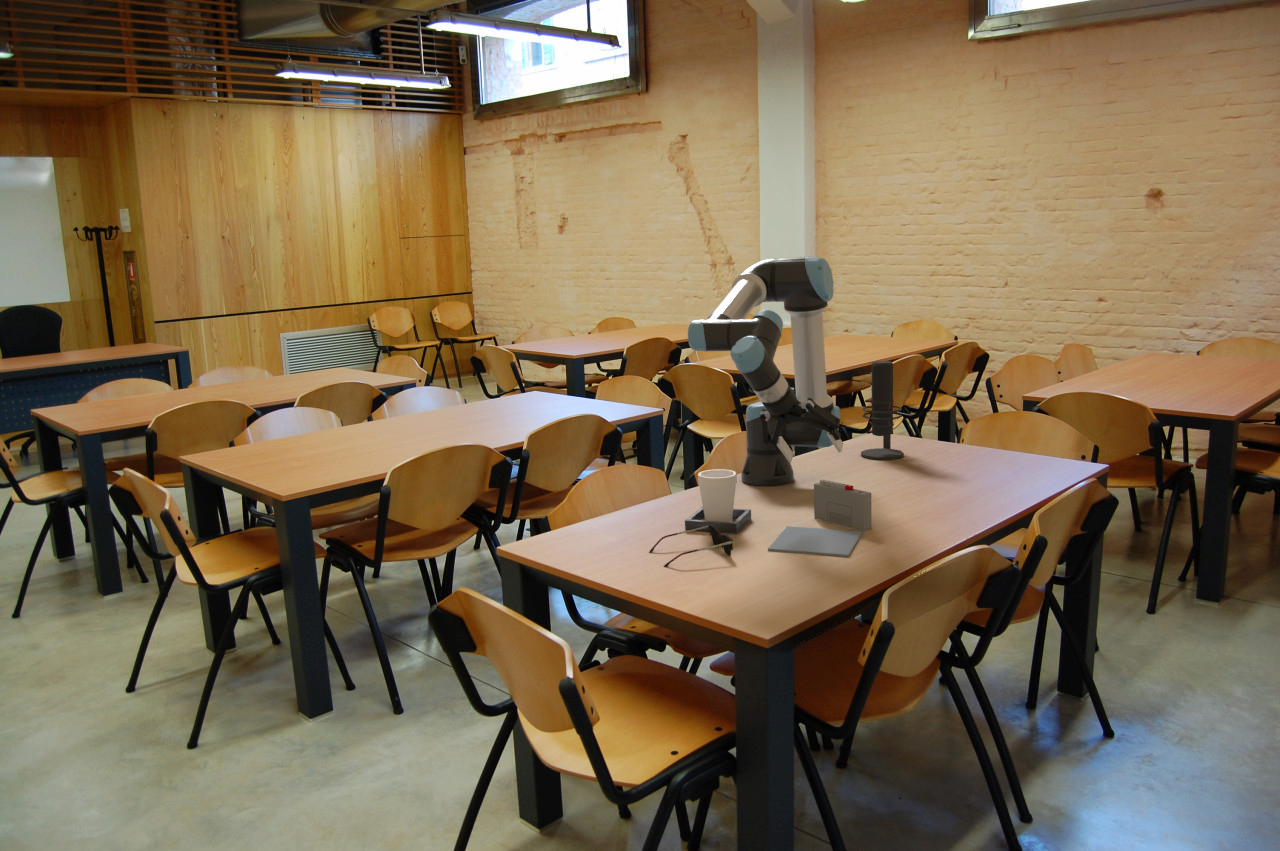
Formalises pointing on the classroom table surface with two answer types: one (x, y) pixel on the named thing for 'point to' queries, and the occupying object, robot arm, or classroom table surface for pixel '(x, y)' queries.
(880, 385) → the microphone
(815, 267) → the robot arm
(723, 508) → the foam cup
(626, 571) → the classroom table surface
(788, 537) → the rubber mat
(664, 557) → the classroom table surface
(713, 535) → the sunglasses
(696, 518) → the holder collar
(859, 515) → the cassette player
